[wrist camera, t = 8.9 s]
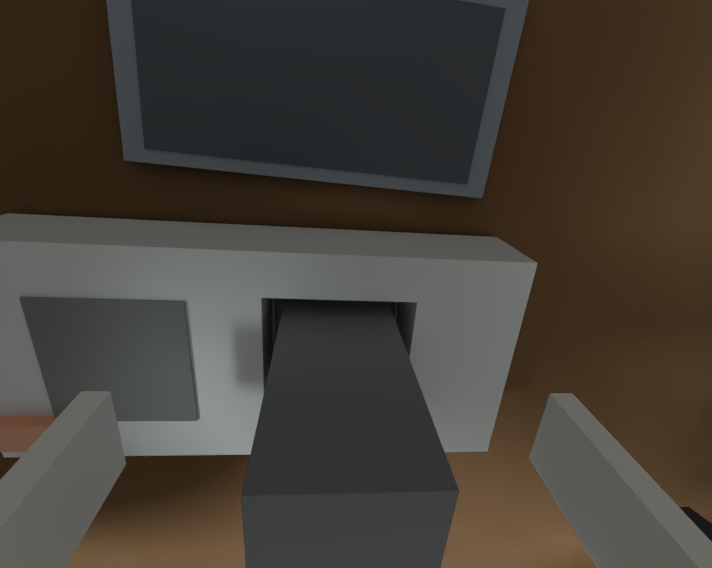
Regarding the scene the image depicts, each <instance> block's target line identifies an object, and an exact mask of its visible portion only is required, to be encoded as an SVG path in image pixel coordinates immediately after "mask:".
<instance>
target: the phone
mask: <svg viewBox="0 0 712 568" xmlns="http://www.w3.org/2000/svg"><path fill="white" fill-rule="evenodd" d="M528 3H529V0H106V4H107V13H108V22H109V31H110V40H111V49H112V58H113V67H114V76H115V85H116V94H117V104H118V113H119V122H120V131H121V140H122V149H123V158H124V161H134V162H143V163H153V164H162V165H171V166H181V167H190V168H200V169H209V170H219V171H228V172H237V173H247V174H256V175H266V176H275V177H284V178H294V179H303V180H313V181H322V182H332V183H341V184H350V185H360V186H369V187H379V188H388V189H397V190H407V191H416V192H426V193H435V194H444V195H454V196H463V197H473V198H483V193H484V189H485V185H486V181H487V177H488V172H489V168H490V164H491V160H492V155H493V151H494V147H495V143H496V139H497V134H498V130H499V126H500V122H501V117H502V113H503V109H504V105H505V101H506V96H507V92H508V88H509V84H510V79H511V75H512V71H513V67H514V63H515V58H516V54H517V50H518V46H519V41H520V37H521V33H522V29H523V24H524V20H525V16H526V12H527V8H528Z"/></svg>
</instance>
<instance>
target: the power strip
mask: <svg viewBox="0 0 712 568" xmlns="http://www.w3.org/2000/svg"><path fill="white" fill-rule="evenodd" d="M537 264H538V263H537V262H535V261H534V260H532V259H531V258H529V257H527V256H526V255H524V254H523V253H521V252H520V251H518V250H516V249H515V248H513V247H512V246H510V245H508V244H507V243H505V242H504V241H502V240H501V239H499V238H497V237H488V236H467V235H447V234H426V233H405V232H385V231H364V230H343V229H323V228H302V227H281V226H261V225H240V224H219V223H199V222H178V221H157V220H137V219H116V218H95V217H75V216H54V215H33V214H13V213H7V214H3V215H0V452H2V455H3V457H4V458H5V457H22V455H23V454H24V453H25V452H26V451H27V450H28V449H29V448H30V447H31V446H32V445H33V443H34V442H35V441H36V440H37V439H38V438H39V437H40V436H41V435H42V434H43V433H44V431H45V430H46V429H47V428H48V427H49V426H50V425H51V424H52V423H53V422H54V420H55V419H56V418H57V417H58V416H59V415H60V414H61V413H62V412H63V411H64V410H65V408H66V407H67V406H68V405H69V404H70V403H71V402H72V401H73V400H74V399H75V398H76V396H77V395H78V394H79V393H80V392H81V391H110V392H111V396H112V401H113V405H114V410H115V415H116V419H117V424H118V428H119V433H120V437H121V442H122V447H123V451H124V456H170V455H250V454H251V450H252V445H253V441H254V436H255V432H256V427H257V423H258V418H259V414H260V409H261V404H262V400H263V395H264V391H265V386H266V382H267V377H268V373H269V368H270V364H271V359H272V355H273V350H274V346H275V341H276V337H277V332H278V328H279V323H280V319H281V314H282V310H283V305H284V301H285V299H316V300H350V301H385V302H389V305H390V308H391V310H392V313H393V316H394V318H395V321H396V324H397V327H398V329H399V332H400V335H401V337H402V340H403V343H404V345H405V348H406V351H407V353H408V356H409V359H410V361H411V364H412V367H413V369H414V372H415V375H416V377H417V380H418V383H419V385H420V388H421V391H422V393H423V396H424V399H425V401H426V404H427V407H428V409H429V412H430V415H431V417H432V420H433V423H434V426H435V428H436V431H437V434H438V436H439V439H440V442H441V444H442V447H443V450H444V452H487V451H488V447H489V443H490V439H491V436H492V432H493V428H494V424H495V421H496V417H497V413H498V410H499V406H500V402H501V398H502V395H503V391H504V387H505V383H506V380H507V376H508V372H509V369H510V365H511V361H512V357H513V354H514V350H515V346H516V342H517V339H518V335H519V331H520V328H521V324H522V320H523V316H524V313H525V309H526V305H527V301H528V298H529V294H530V290H531V287H532V283H533V279H534V275H535V272H536V268H537Z"/></svg>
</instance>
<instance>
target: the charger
mask: <svg viewBox="0 0 712 568" xmlns="http://www.w3.org/2000/svg"><path fill="white" fill-rule="evenodd" d="M458 493H459V490H458V487H457V484H456V482H455V479H454V476H453V474H452V471H451V468H450V466H449V463H448V460H447V458H446V455H445V452H444V450H443V447H442V444H441V442H440V439H439V436H438V434H437V431H436V428H435V426H434V423H433V420H432V417H431V415H430V412H429V409H428V407H427V404H426V401H425V399H424V396H423V393H422V391H421V388H420V385H419V383H418V380H417V377H416V375H415V372H414V369H413V367H412V364H411V361H410V359H409V356H408V353H407V351H406V348H405V345H404V343H403V340H402V337H401V335H400V332H399V329H398V327H397V324H396V321H395V318H394V316H393V313H392V310H391V308H390V305H389V302H385V301H350V300H316V299H285V301H284V305H283V310H282V314H281V319H280V323H279V328H278V332H277V337H276V341H275V346H274V350H273V355H272V359H271V364H270V368H269V373H268V377H267V382H266V386H265V391H264V395H263V400H262V404H261V409H260V414H259V418H258V423H257V427H256V432H255V436H254V441H253V445H252V450H251V454H250V459H249V463H248V468H247V472H246V477H245V481H244V486H243V490H242V495H241V500H242V515H243V531H244V546H245V561H246V568H440V567H441V563H442V559H443V555H444V550H445V546H446V542H447V538H448V534H449V530H450V526H451V522H452V517H453V513H454V509H455V505H456V501H457V497H458Z"/></svg>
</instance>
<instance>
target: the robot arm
mask: <svg viewBox="0 0 712 568" xmlns="http://www.w3.org/2000/svg"><path fill="white" fill-rule="evenodd" d="M529 460H530V461H531V463H532V464H533V466H534V468H535V469H536V471H537V473H538V474H539V476H540V477H541V479H542V481H543V482H544V484H545V485H546V487H547V489H548V490H549V492H550V493H551V495H552V497H553V498H554V500H555V502H556V503H557V505H558V506H559V508H560V510H561V511H562V513H563V514H564V516H565V518H566V519H567V521H568V522H569V524H570V526H571V527H572V529H573V531H574V532H575V534H576V535H577V537H578V539H579V540H580V542H581V543H582V545H583V547H584V548H585V550H586V551H587V553H588V555H589V556H590V558H591V559H592V561H593V563H594V564H595V566H596V568H712V524H711V523H710V522H709V521H707V520H706V519H704V518H703V517H702V516H700V515H699V514H698V513H696V512H695V511H693V510H692V509H691V508H689V507H679V506H678V505H677V504H676V503H675V502H674V501H673V500H672V499H671V498H670V497H669V496H668V495H667V494H666V493H665V492H664V490H663V489H662V488H661V487H660V486H659V485H658V484H657V483H656V482H655V481H654V480H653V479H652V478H651V477H650V476H649V474H648V473H647V472H646V471H645V470H644V469H643V468H642V467H641V466H640V465H639V464H638V463H637V462H636V461H635V460H634V458H633V457H632V456H631V455H630V454H629V453H628V452H627V451H626V450H625V449H624V448H623V447H622V446H621V445H620V443H619V442H618V441H617V440H616V439H615V438H614V437H613V436H612V435H611V434H610V433H609V432H608V431H607V430H606V429H605V427H604V426H603V425H602V424H601V423H600V422H599V421H598V420H597V419H596V418H595V417H594V416H593V415H592V414H591V413H590V411H589V410H588V409H587V408H586V407H585V406H584V405H583V404H582V403H581V402H580V401H579V400H578V399H577V398H576V397H575V395H574V394H573V393H550V394H549V397H548V400H547V403H546V406H545V410H544V413H543V416H542V419H541V422H540V425H539V428H538V431H537V434H536V437H535V440H534V443H533V446H532V449H531V452H530V455H529ZM125 465H126V460H125V456H124V451H123V447H122V442H121V437H120V433H119V428H118V424H117V419H116V415H115V410H114V405H113V401H112V396H111V392H110V391H81V392H80V393H79V394H78V395H77V396H76V398H75V399H74V400H73V401H72V402H71V403H70V404H69V405H68V406H67V407H66V408H65V410H64V411H63V412H62V413H61V414H60V415H59V416H58V417H57V418H56V419H55V420H54V422H53V423H52V424H51V425H50V426H49V427H48V428H47V429H46V430H45V431H44V433H43V434H42V435H41V436H40V437H39V438H38V439H37V440H36V441H35V442H34V443H33V445H32V446H31V447H30V448H29V449H28V450H27V451H26V452H25V453H24V454H23V455H22V457H21V458H20V459H19V460H18V461H17V462H16V463H15V464H14V465H13V466H12V468H11V469H10V470H9V471H8V472H7V473H6V474H5V475H4V476H3V477H2V478H1V480H0V568H66V566H67V565H68V563H69V561H70V559H71V558H72V556H73V554H74V553H75V551H76V549H77V547H78V546H79V544H80V542H81V541H82V539H83V537H84V535H85V534H86V532H87V530H88V529H89V527H90V525H91V523H92V522H93V520H94V518H95V517H96V515H97V513H98V511H99V510H100V508H101V506H102V505H103V503H104V501H105V499H106V498H107V496H108V494H109V493H110V491H111V489H112V487H113V486H114V484H115V482H116V481H117V479H118V477H119V475H120V474H121V472H122V470H123V469H124V467H125Z"/></svg>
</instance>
